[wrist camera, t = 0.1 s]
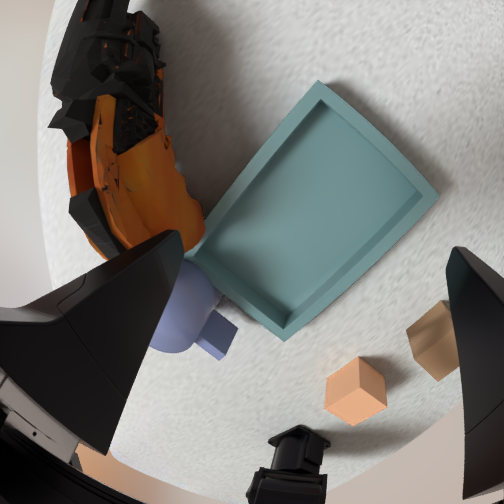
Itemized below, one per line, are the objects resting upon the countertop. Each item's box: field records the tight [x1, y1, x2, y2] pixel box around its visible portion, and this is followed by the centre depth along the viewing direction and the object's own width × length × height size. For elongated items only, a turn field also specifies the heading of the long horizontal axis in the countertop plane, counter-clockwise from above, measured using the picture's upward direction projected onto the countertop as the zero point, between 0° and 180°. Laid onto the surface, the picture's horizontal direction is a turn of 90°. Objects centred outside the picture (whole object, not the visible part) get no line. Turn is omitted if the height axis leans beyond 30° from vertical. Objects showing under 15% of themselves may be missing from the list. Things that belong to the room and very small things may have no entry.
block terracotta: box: [324, 356, 387, 426], centre depth 28 cm, size 4×4×4 cm
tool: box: [48, 0, 206, 261], centre depth 20 cm, size 8×23×15 cm, turn 14°
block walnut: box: [406, 301, 459, 381], centre depth 23 cm, size 4×4×4 cm
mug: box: [149, 259, 238, 360], centre depth 27 cm, size 7×10×7 cm
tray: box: [184, 80, 440, 342], centre depth 24 cm, size 18×12×2 cm, turn 142°
